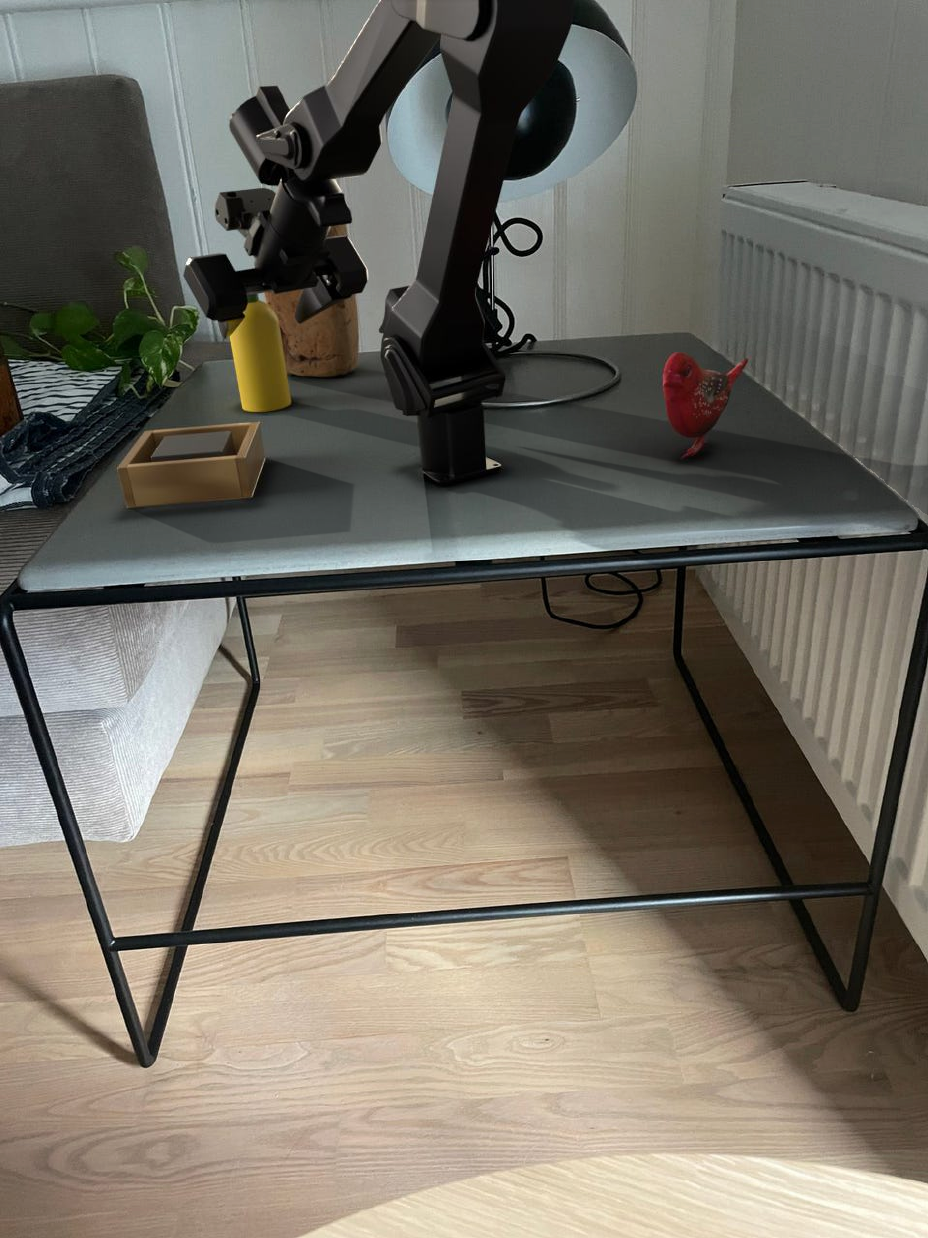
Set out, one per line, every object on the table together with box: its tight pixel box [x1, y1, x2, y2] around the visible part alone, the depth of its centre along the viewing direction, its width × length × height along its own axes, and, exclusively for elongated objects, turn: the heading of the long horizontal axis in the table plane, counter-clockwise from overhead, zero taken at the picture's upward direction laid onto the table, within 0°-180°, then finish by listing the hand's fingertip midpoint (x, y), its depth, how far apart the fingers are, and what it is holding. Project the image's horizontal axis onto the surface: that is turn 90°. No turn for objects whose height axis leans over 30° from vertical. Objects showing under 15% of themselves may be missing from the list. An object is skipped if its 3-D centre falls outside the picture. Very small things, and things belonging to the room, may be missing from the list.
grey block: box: [151, 431, 236, 462], centre depth 84 cm, size 6×6×4 cm
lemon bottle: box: [229, 294, 292, 413], centre depth 106 cm, size 6×6×13 cm
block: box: [263, 224, 360, 378], centre depth 117 cm, size 11×8×20 cm
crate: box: [116, 421, 266, 509], centre depth 84 cm, size 11×11×4 cm
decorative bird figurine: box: [662, 351, 749, 460], centre depth 84 cm, size 3×18×10 cm, turn 143°
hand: (261, 327), depth 104 cm, fingers open, 9 cm apart
